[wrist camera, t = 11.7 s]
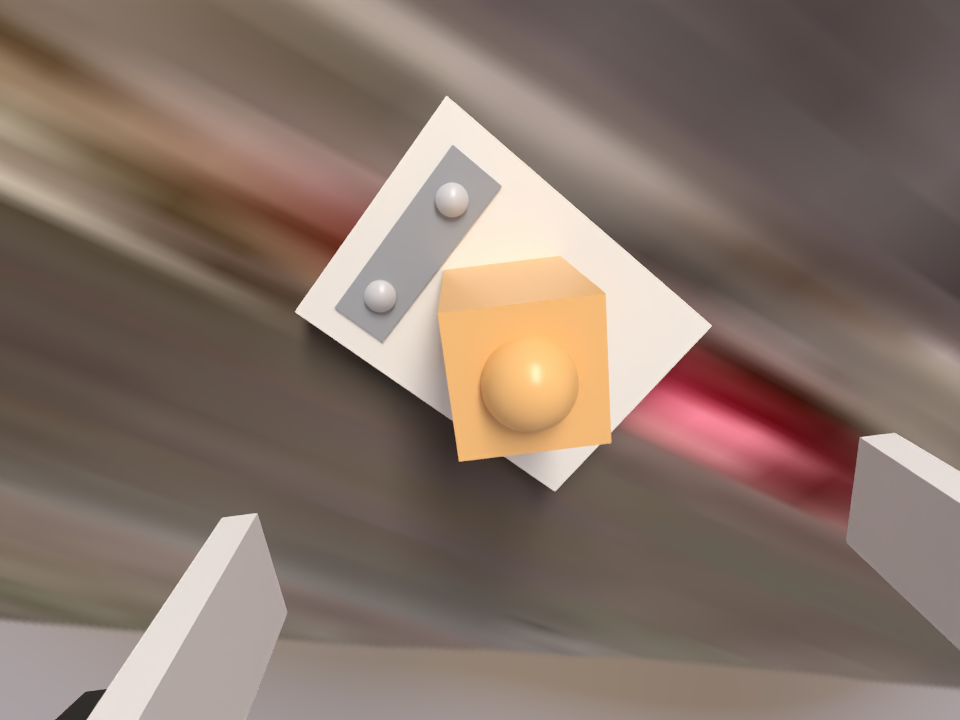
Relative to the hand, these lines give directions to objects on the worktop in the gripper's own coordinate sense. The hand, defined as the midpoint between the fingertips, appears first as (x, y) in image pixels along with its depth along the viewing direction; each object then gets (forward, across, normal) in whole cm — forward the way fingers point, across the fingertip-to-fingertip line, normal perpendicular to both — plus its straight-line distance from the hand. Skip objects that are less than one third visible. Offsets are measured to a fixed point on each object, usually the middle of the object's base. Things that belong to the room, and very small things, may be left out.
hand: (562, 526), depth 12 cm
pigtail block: (+21, 0, 0) cm, 21 cm away
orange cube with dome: (+18, 0, 0) cm, 18 cm away
